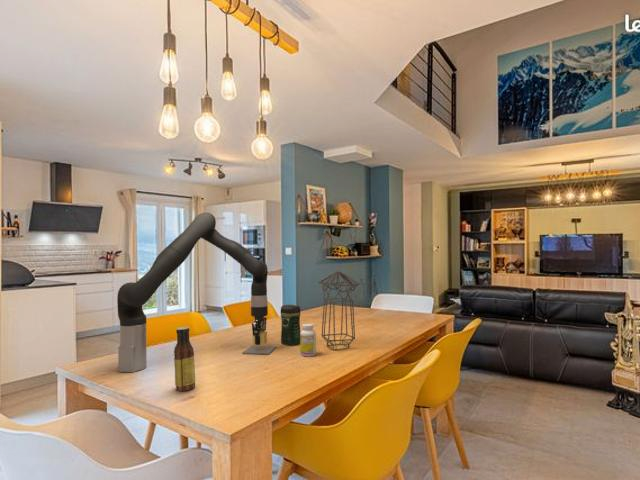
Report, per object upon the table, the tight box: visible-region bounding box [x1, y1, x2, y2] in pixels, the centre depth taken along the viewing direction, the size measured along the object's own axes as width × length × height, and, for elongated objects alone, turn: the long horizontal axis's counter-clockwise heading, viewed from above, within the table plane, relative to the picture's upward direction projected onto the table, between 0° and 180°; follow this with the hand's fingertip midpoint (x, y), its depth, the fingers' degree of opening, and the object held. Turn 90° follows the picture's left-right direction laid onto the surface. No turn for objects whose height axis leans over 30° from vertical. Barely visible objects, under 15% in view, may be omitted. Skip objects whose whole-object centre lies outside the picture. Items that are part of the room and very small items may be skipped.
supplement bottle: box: [299, 323, 317, 358], centre depth 160 cm, size 7×7×13 cm
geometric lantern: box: [317, 270, 360, 351], centre depth 172 cm, size 16×16×35 cm
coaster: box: [241, 345, 277, 356], centre depth 167 cm, size 12×12×1 cm
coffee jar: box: [280, 304, 302, 346], centre depth 180 cm, size 10×8×19 cm
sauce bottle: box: [173, 326, 196, 392], centre depth 123 cm, size 7×6×20 cm
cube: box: [252, 331, 268, 346], centre depth 168 cm, size 5×5×5 cm
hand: (259, 342), depth 168 cm, fingers closed on cube, 5 cm apart
